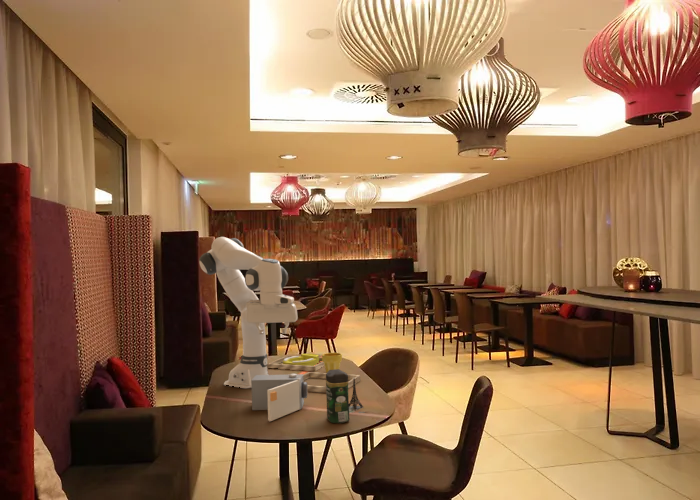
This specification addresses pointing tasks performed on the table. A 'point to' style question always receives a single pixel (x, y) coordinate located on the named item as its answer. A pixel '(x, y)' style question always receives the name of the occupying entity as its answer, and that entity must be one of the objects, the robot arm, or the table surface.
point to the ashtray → (302, 360)
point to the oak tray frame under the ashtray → (294, 367)
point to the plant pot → (332, 361)
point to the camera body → (271, 381)
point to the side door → (284, 399)
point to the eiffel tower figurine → (354, 401)
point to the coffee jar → (337, 396)
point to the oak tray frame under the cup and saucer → (323, 375)
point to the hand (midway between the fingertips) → (272, 333)
